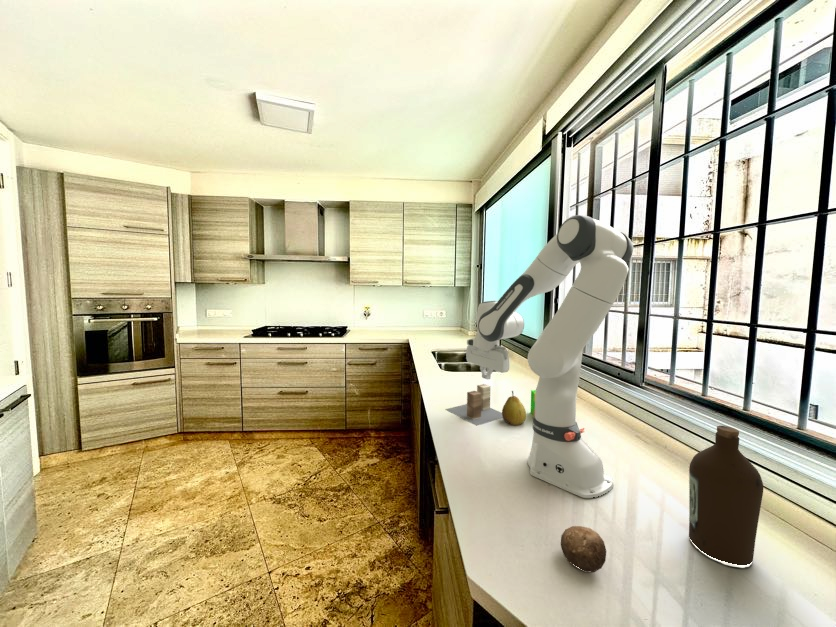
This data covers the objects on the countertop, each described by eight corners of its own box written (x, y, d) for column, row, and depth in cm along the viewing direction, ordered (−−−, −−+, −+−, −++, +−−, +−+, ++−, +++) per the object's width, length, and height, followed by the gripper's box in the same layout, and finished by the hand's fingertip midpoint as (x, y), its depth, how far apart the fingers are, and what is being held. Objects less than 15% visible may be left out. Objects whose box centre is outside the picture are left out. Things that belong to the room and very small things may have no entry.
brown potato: (597, 528, 67) (588, 512, 64) (620, 574, 59) (611, 558, 57) (560, 541, 68) (550, 526, 66) (578, 586, 61) (568, 571, 58)
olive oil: (753, 547, 66) (763, 427, 64) (760, 583, 58) (772, 447, 56) (685, 522, 73) (692, 414, 71) (683, 551, 65) (691, 429, 63)
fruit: (521, 429, 122) (522, 398, 121) (498, 423, 127) (499, 393, 126) (529, 422, 128) (529, 392, 128) (506, 416, 134) (507, 388, 133)
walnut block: (481, 417, 132) (481, 393, 131) (473, 419, 130) (473, 394, 129) (474, 414, 135) (474, 390, 134) (466, 416, 133) (467, 392, 132)
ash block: (490, 408, 141) (490, 386, 141) (483, 410, 139) (483, 387, 139) (483, 406, 145) (483, 384, 144) (476, 407, 143) (477, 385, 142)
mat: (509, 416, 134) (509, 415, 133) (476, 426, 124) (476, 425, 124) (476, 402, 150) (476, 401, 150) (444, 410, 141) (444, 409, 141)
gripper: (514, 347, 117) (512, 384, 118) (475, 338, 135) (474, 371, 136) (501, 348, 114) (500, 387, 115) (464, 339, 131) (462, 373, 132)
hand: (486, 378), depth 126 cm, fingers closed
